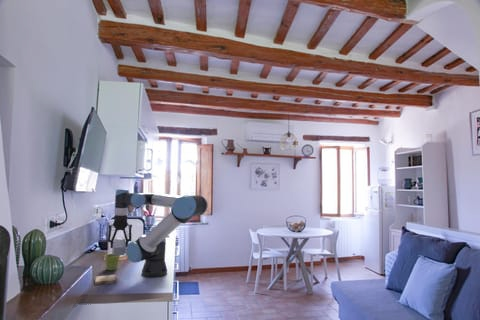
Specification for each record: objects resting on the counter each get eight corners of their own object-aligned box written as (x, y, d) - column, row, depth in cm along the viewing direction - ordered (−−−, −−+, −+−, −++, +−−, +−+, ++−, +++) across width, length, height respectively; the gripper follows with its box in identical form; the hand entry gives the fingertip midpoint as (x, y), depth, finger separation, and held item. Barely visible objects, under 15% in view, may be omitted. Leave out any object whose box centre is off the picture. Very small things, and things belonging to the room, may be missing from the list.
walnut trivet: (115, 277, 189) (115, 274, 189) (116, 282, 178) (116, 280, 179) (94, 278, 184) (95, 276, 184) (94, 284, 174) (94, 282, 174)
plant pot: (103, 271, 199) (104, 257, 199) (103, 267, 207) (104, 254, 208) (119, 270, 202) (120, 256, 203) (119, 266, 211) (120, 253, 212)
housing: (123, 252, 198) (124, 237, 199) (124, 254, 192) (125, 239, 192) (113, 253, 196) (114, 237, 197) (113, 255, 190) (114, 239, 190)
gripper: (136, 213, 203) (134, 251, 201) (104, 214, 195) (101, 252, 194) (137, 215, 196) (135, 253, 194) (104, 215, 188) (101, 255, 187)
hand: (118, 253), depth 194 cm, fingers closed on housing, 6 cm apart
